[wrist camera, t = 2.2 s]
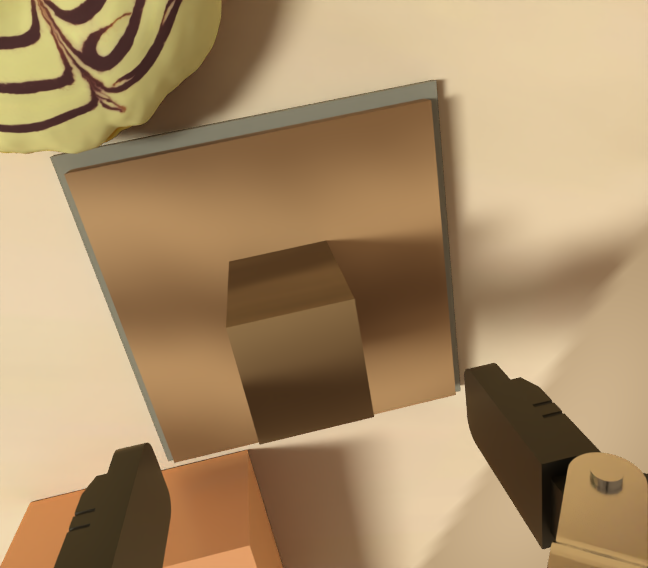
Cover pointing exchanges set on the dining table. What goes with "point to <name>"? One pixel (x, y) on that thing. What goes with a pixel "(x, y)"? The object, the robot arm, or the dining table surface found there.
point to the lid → (278, 275)
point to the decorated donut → (93, 66)
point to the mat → (243, 127)
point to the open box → (173, 520)
